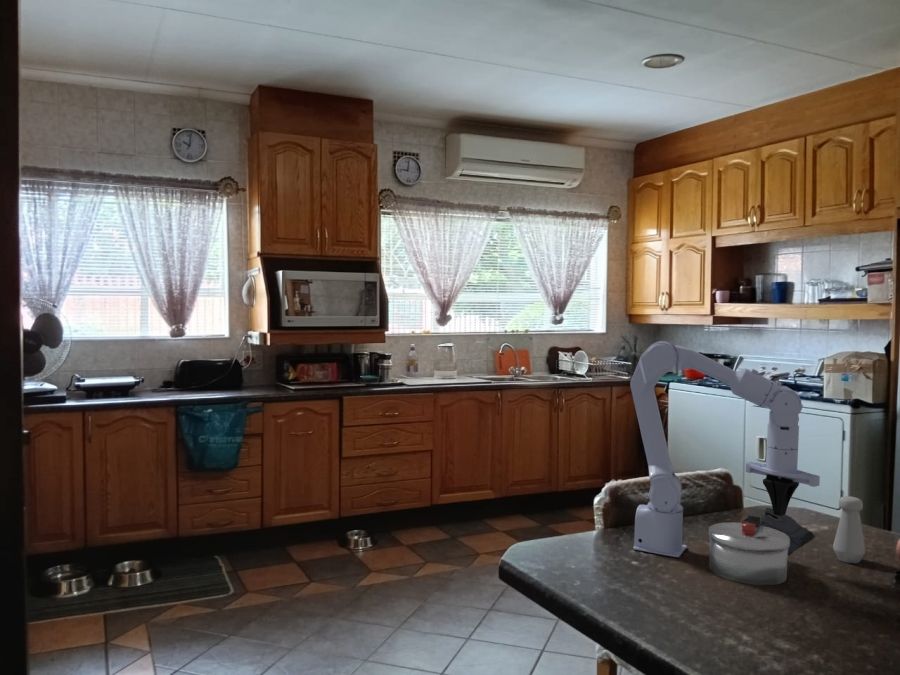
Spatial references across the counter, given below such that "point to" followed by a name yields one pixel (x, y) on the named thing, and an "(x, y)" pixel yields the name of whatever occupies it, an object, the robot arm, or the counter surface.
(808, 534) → the dark slate chunk
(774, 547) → the lid
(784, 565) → the pot
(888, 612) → the counter surface
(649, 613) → the counter surface
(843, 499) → the salt shaker
